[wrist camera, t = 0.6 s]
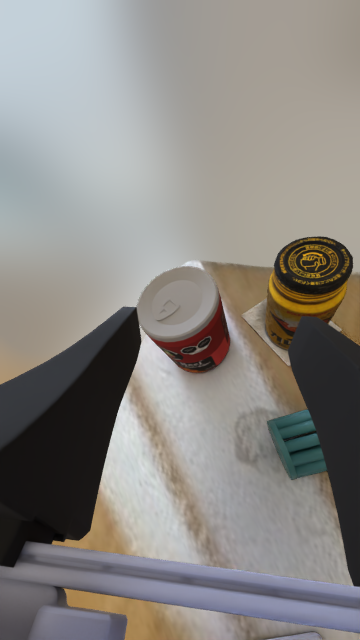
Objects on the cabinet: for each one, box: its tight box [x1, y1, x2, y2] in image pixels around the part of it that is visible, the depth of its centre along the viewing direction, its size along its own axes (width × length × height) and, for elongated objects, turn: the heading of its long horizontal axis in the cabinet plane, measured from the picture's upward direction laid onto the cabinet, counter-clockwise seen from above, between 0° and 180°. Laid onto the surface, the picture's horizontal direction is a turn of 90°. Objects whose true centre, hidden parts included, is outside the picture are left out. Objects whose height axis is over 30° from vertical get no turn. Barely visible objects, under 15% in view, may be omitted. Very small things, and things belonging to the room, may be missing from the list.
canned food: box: [137, 266, 230, 373], centre depth 24 cm, size 8×8×11 cm
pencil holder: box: [267, 409, 327, 480], centre depth 19 cm, size 7×6×5 cm
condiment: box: [241, 237, 353, 366], centre depth 22 cm, size 7×8×12 cm
